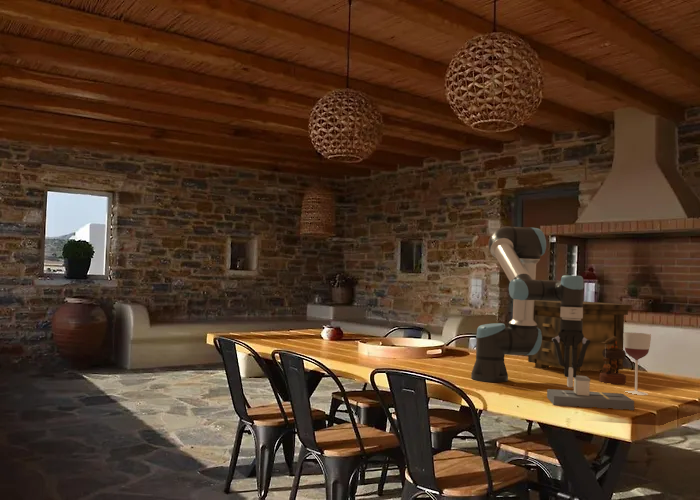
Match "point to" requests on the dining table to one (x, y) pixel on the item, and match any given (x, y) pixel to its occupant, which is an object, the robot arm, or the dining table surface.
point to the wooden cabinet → (597, 328)
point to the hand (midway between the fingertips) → (569, 386)
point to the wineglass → (636, 351)
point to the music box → (612, 363)
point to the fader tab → (581, 385)
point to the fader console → (590, 399)
